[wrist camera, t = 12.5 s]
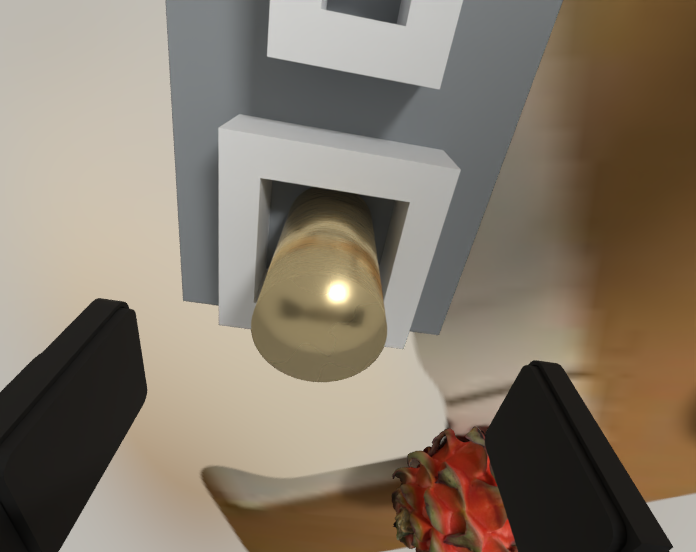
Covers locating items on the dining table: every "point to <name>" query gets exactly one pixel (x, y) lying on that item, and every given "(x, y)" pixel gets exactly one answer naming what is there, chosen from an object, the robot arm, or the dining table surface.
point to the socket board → (344, 133)
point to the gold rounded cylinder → (322, 291)
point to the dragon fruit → (451, 499)
